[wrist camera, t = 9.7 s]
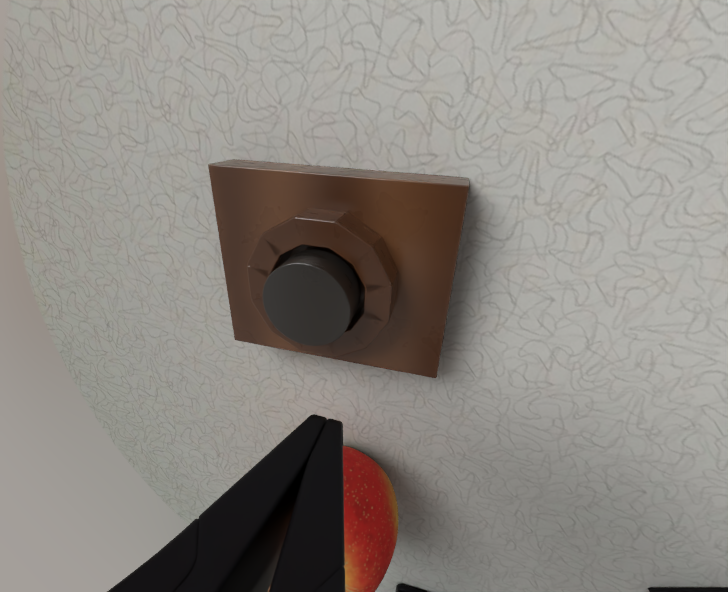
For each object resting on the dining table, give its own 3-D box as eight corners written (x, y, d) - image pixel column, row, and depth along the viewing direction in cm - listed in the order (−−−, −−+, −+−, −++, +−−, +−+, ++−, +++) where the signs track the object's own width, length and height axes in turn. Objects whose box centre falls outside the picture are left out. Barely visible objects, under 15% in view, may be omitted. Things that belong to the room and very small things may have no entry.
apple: (287, 460, 29) (212, 608, 20) (327, 402, 25) (255, 556, 16) (372, 510, 29) (334, 678, 20) (426, 460, 25) (407, 643, 16)
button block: (253, 321, 23) (216, 358, 20) (233, 159, 19) (181, 168, 15) (438, 354, 21) (433, 402, 17) (468, 177, 16) (470, 194, 13)
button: (282, 319, 18) (266, 338, 16) (277, 243, 16) (257, 257, 15) (359, 332, 17) (349, 353, 16) (362, 254, 15) (351, 270, 14)
